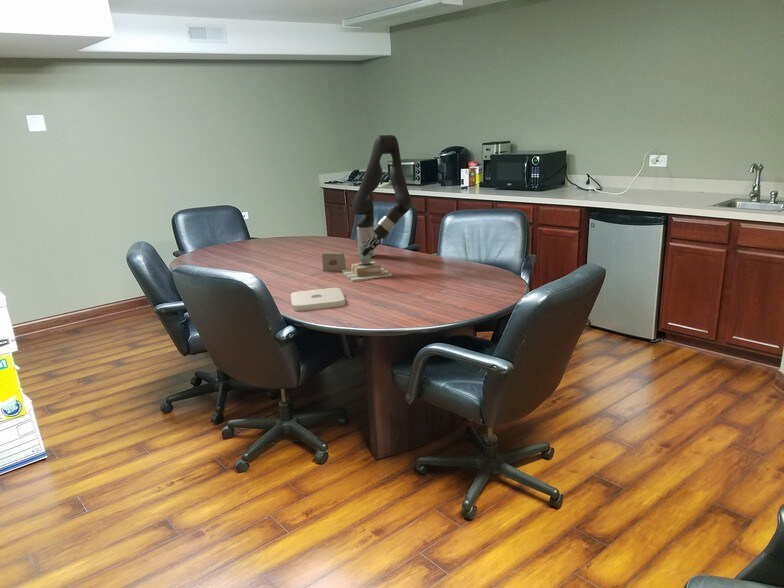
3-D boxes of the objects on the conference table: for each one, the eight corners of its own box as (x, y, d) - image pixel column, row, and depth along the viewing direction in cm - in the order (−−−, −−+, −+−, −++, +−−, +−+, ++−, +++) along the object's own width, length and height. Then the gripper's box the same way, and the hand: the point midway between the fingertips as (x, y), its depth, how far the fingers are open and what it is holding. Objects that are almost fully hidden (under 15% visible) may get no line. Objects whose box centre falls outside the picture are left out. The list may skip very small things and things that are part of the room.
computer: (291, 298, 258) (290, 292, 257) (340, 292, 262) (339, 287, 261) (292, 312, 237) (292, 306, 236) (346, 306, 241) (345, 300, 240)
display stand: (341, 272, 297) (340, 262, 296) (378, 267, 303) (378, 257, 301) (352, 282, 277) (351, 271, 275) (392, 276, 283) (391, 266, 281)
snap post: (360, 261, 289) (358, 244, 287) (368, 260, 291) (367, 243, 288) (362, 263, 285) (361, 245, 283) (370, 262, 287) (369, 244, 284)
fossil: (322, 271, 302) (321, 253, 299) (325, 269, 305) (324, 251, 303) (343, 271, 298) (342, 253, 295) (346, 270, 301) (345, 252, 298)
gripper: (374, 220, 292) (352, 247, 292) (382, 224, 279) (360, 252, 278) (384, 230, 295) (363, 256, 295) (393, 234, 282) (371, 261, 282)
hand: (362, 254), depth 287 cm, fingers closed on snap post, 4 cm apart
